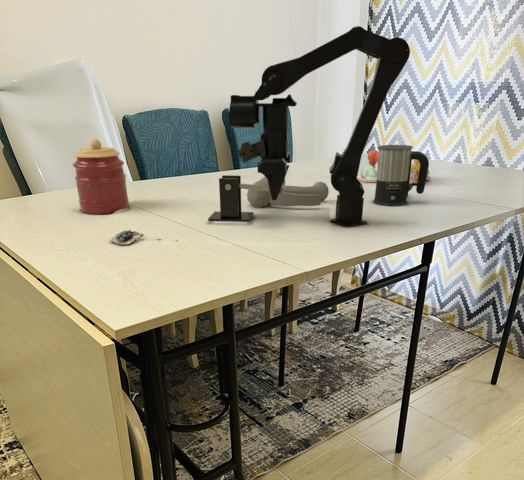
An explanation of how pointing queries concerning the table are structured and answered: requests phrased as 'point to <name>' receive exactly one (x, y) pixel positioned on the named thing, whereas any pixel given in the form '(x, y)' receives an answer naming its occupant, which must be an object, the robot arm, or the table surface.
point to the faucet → (289, 195)
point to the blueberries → (125, 237)
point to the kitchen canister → (100, 179)
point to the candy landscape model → (369, 171)
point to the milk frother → (398, 174)
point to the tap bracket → (230, 201)
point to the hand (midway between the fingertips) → (274, 198)
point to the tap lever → (256, 187)
